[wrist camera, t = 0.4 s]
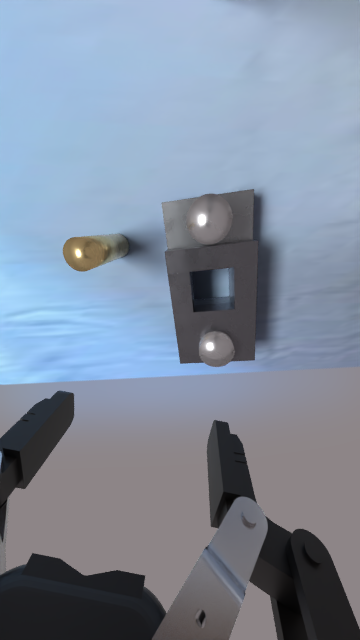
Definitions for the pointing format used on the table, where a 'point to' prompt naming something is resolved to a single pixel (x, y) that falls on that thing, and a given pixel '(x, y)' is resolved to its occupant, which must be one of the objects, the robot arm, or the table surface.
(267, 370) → the table surface
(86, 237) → the brass pin
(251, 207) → the knobbed metal plate
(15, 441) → the robot arm
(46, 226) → the table surface
